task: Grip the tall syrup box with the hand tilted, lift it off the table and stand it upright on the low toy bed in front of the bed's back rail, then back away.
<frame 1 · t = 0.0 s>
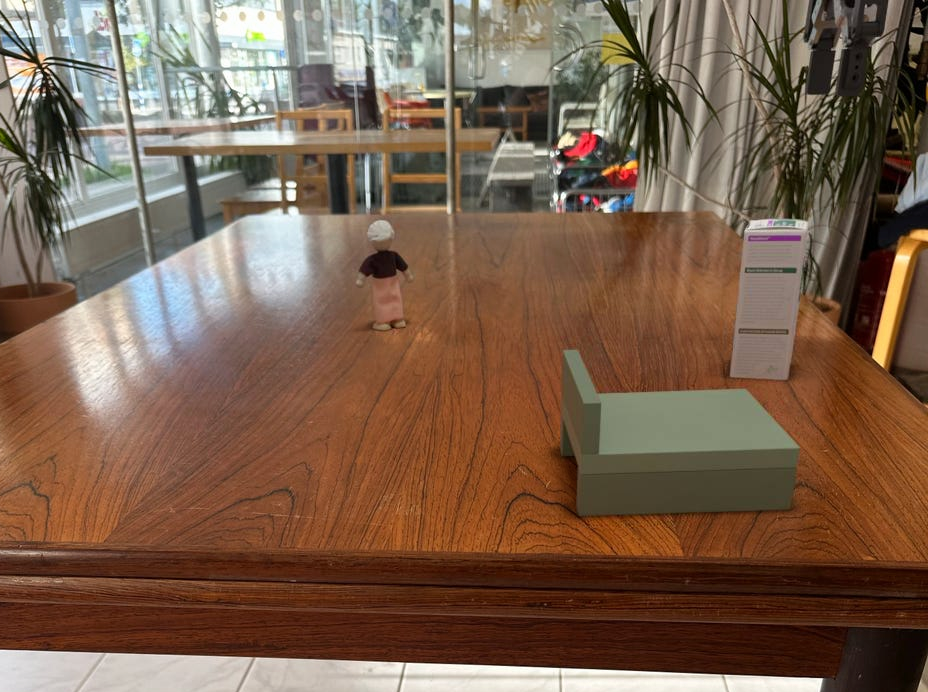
hand: (831, 95, 90), 25 cm above the table, tool pointing down, fingers open, 8 cm apart
syrup box: (758, 376, 97), on the table
grandmother figurine: (386, 329, 121), on the table
toy bed: (665, 481, 73), on the table
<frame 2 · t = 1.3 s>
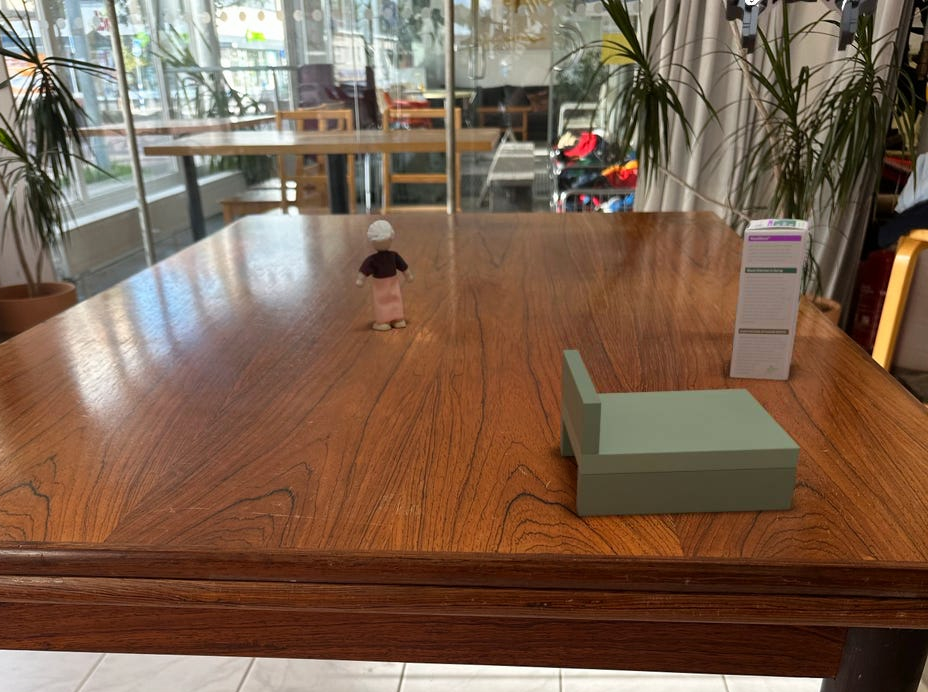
hand: (796, 45, 91), 29 cm above the table, tool tilted 45°, fingers open, 8 cm apart
nothing on the table moved.
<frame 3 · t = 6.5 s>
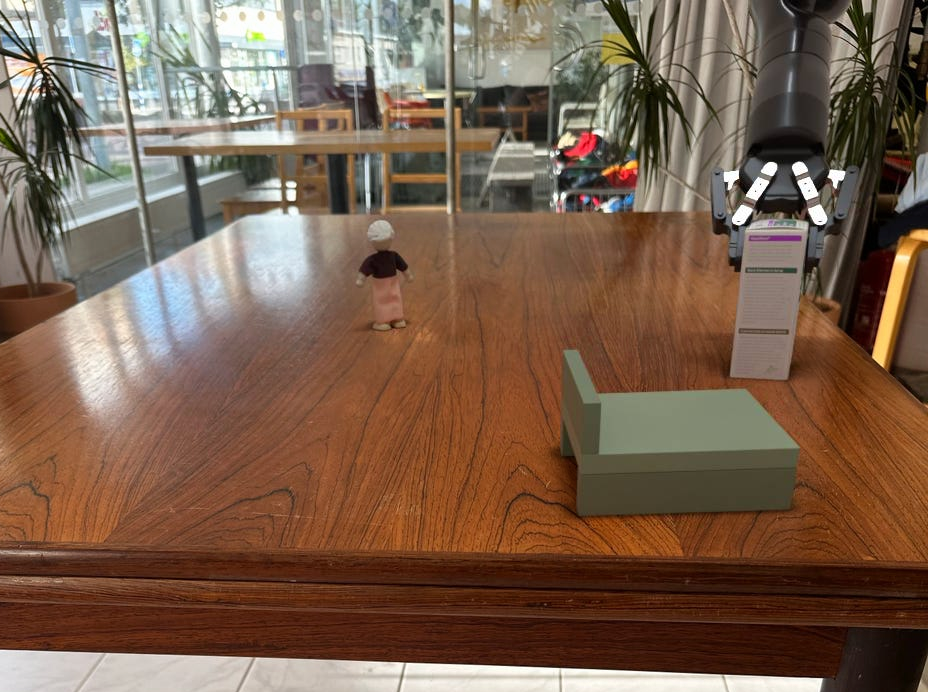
hand: (773, 267, 90), 11 cm above the table, tool tilted 45°, fingers closed on syrup box, 6 cm apart
syrup box: (758, 376, 97), on the table, touching gripper
everything else where it was.
when the fingers open (16 cm above the table, at t = 16.6 s): syrup box stays where it is, resting on toy bed.
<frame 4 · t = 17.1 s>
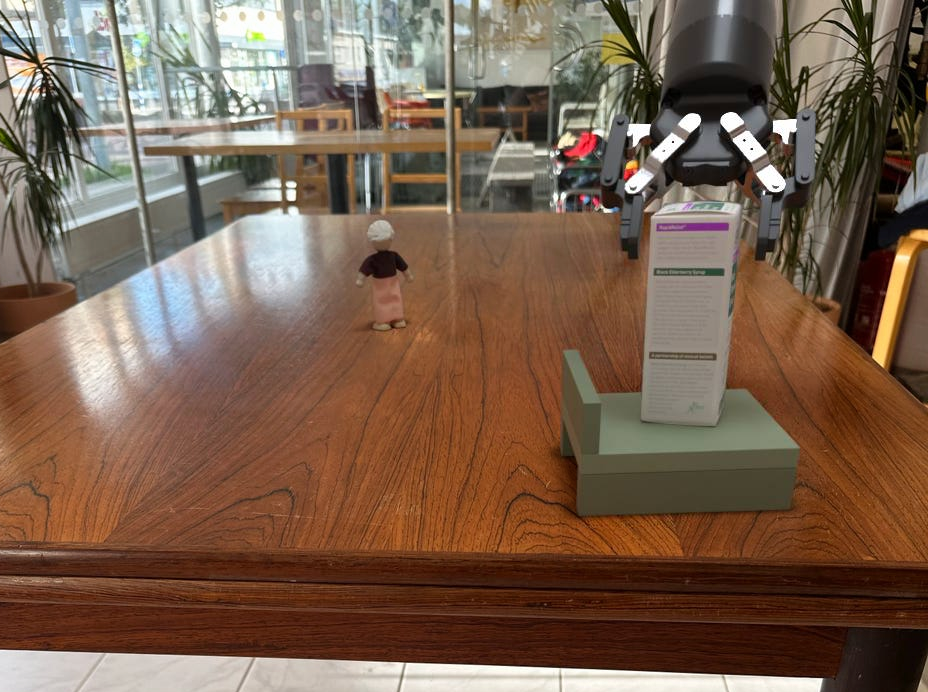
hand: (696, 253, 64), 17 cm above the table, tool tilted 45°, fingers open, 8 cm apart
syrup box: (680, 415, 72), point 5 cm above the table, touching toy bed
everything else where it was.
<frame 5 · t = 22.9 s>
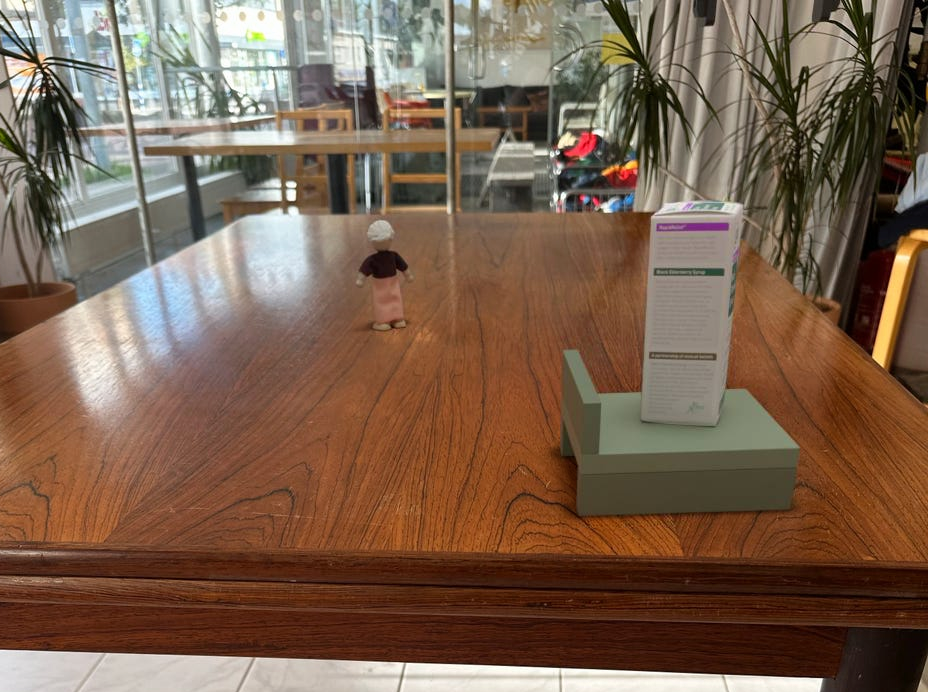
hand: (763, 24, 71), 30 cm above the table, tool pointing down, fingers open, 8 cm apart
nothing on the table moved.
at the end: syrup box inside the target area on the toy bed (1.3 cm from its centre), point 4.8 cm above the toy bed's base; syrup box tilted 0°; the gripper is holding nothing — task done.
